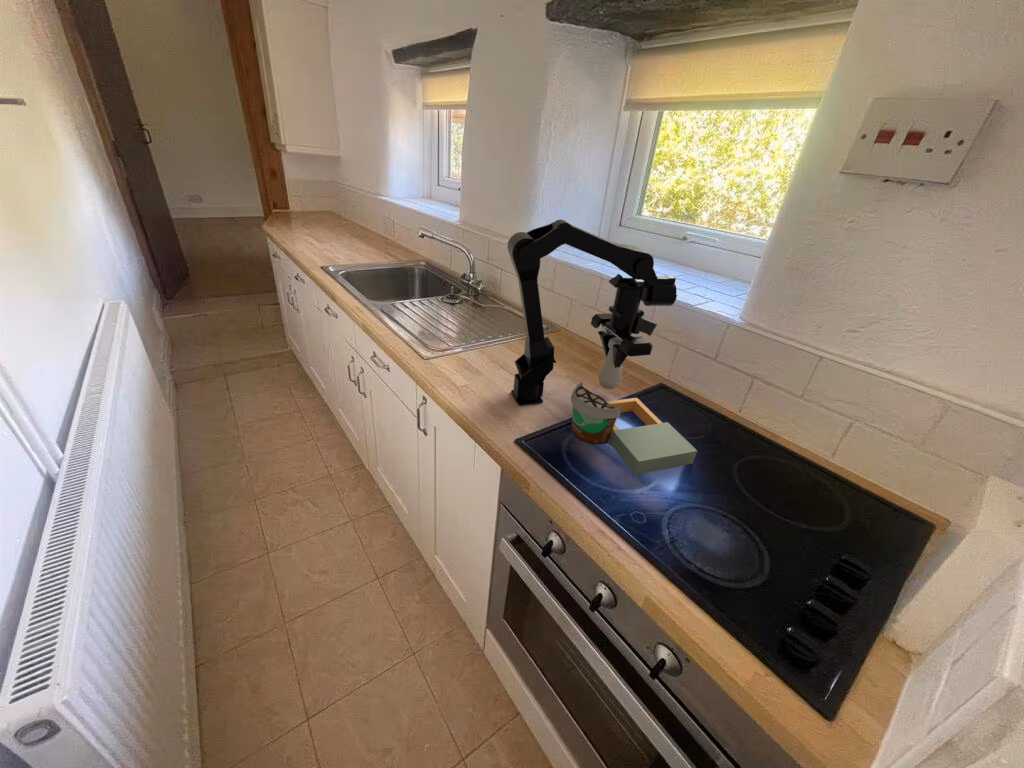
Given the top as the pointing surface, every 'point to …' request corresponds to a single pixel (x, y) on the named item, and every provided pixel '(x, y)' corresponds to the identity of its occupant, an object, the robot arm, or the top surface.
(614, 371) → the salt shaker
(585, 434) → the food container
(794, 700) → the top surface
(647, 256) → the robot arm
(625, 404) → the orange and green frame
